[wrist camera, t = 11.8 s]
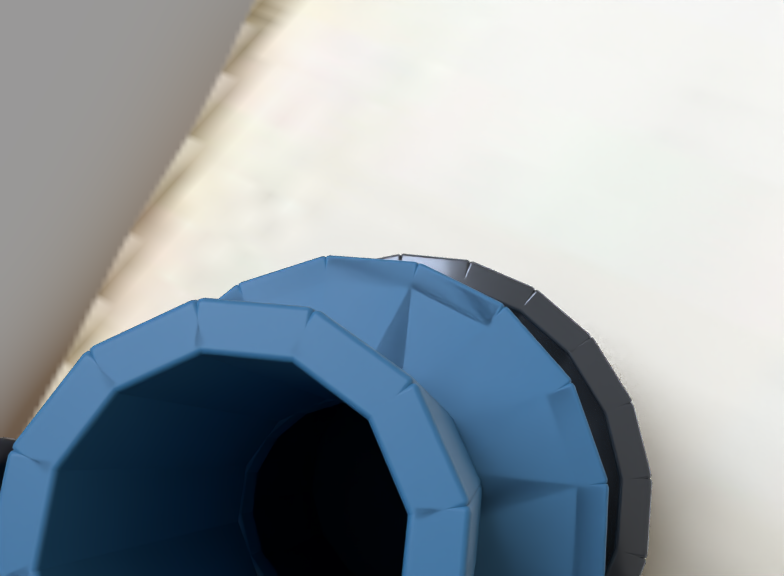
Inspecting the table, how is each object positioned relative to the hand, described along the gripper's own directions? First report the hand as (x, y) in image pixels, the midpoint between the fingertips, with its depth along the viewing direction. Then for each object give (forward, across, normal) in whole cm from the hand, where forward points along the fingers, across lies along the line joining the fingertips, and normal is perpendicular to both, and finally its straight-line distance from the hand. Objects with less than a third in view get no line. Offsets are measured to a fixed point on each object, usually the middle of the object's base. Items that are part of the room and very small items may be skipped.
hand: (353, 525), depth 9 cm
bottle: (+7, 0, +6) cm, 9 cm away
